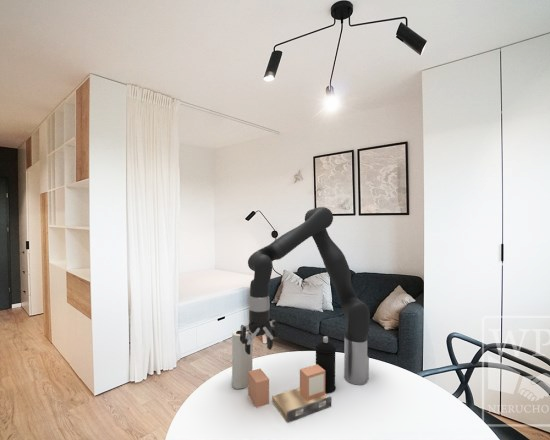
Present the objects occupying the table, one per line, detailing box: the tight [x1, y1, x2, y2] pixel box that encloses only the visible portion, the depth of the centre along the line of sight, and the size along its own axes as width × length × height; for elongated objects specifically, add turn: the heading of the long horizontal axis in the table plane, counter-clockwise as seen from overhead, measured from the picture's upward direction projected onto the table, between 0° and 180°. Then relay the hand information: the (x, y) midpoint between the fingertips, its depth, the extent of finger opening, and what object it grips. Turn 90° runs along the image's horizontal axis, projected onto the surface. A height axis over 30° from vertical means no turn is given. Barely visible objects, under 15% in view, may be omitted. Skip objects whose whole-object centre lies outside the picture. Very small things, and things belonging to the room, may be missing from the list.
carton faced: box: [299, 364, 326, 401], centre depth 102 cm, size 8×5×9 cm, turn 117°
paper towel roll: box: [231, 329, 254, 390], centre depth 110 cm, size 7×6×21 cm
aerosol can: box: [315, 335, 337, 394], centre depth 109 cm, size 8×8×20 cm
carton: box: [247, 368, 270, 409], centre depth 102 cm, size 8×5×9 cm, turn 27°
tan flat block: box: [271, 387, 332, 423], centre depth 99 cm, size 18×12×3 cm, turn 117°
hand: (258, 351), depth 101 cm, fingers open, 8 cm apart
